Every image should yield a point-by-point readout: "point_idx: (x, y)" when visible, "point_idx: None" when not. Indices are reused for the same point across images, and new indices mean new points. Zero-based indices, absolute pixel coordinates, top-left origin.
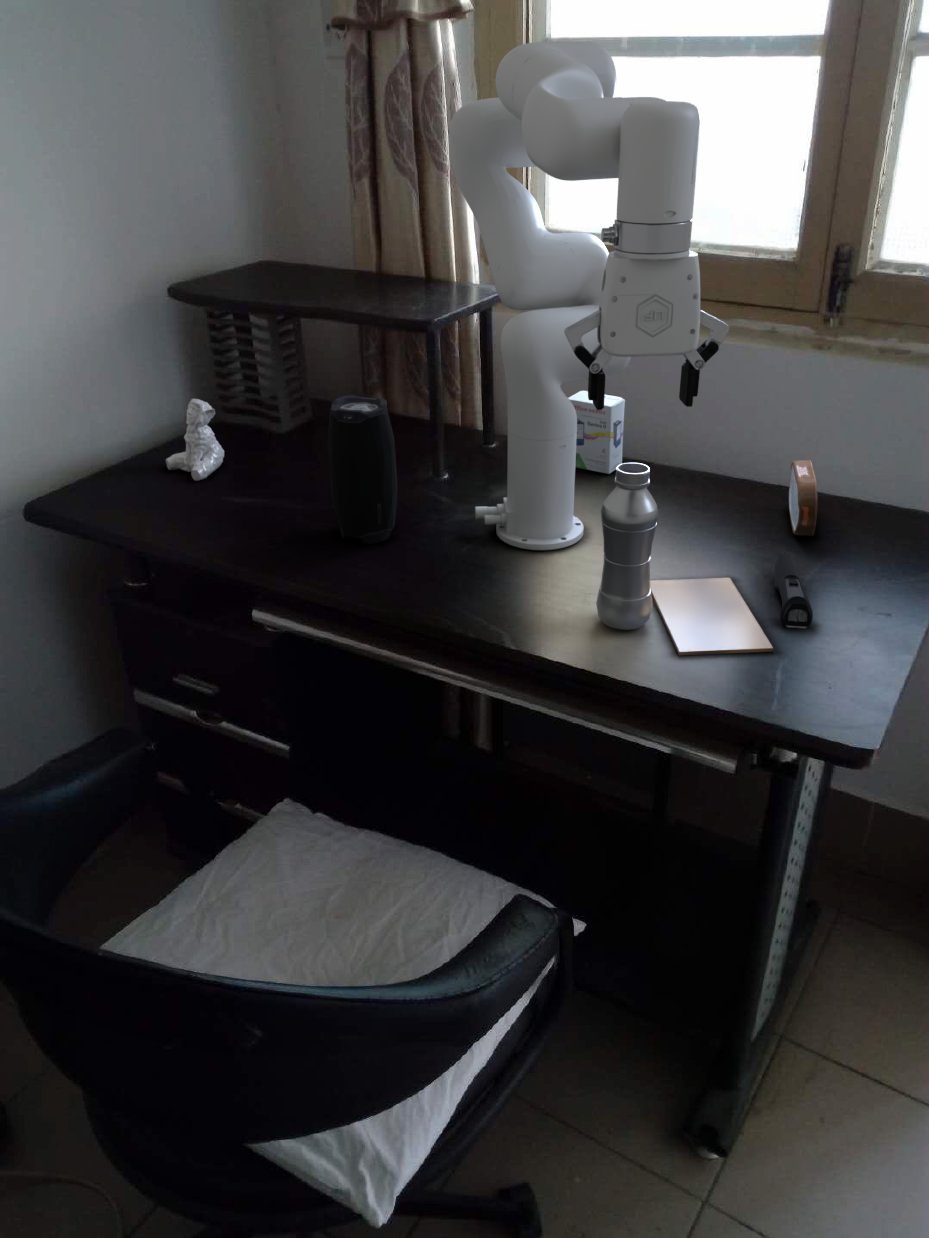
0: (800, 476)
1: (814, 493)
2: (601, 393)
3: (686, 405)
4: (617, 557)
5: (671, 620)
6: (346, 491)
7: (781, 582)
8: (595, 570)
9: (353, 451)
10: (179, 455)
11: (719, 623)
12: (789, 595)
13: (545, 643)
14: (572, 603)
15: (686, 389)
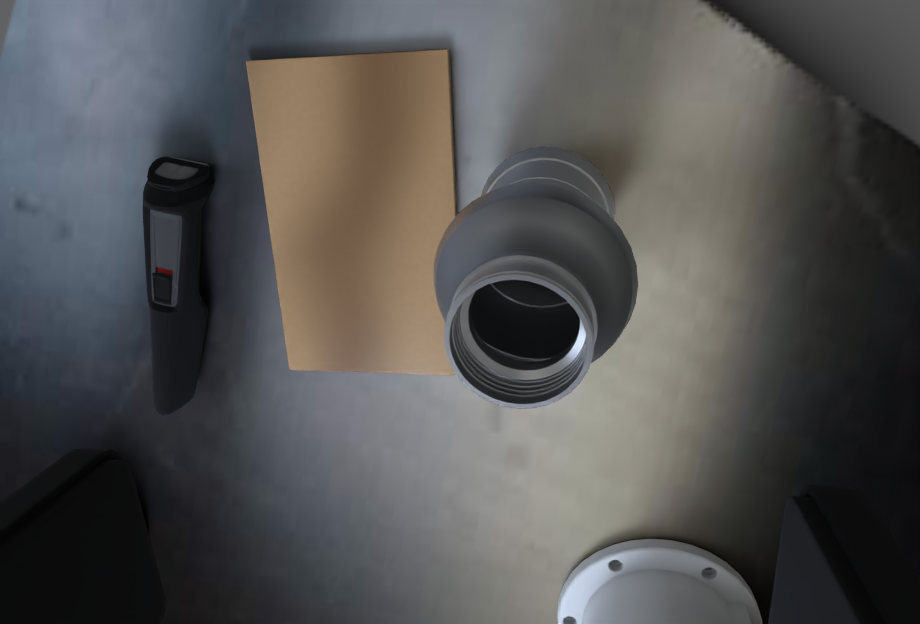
0: None
1: None
2: (894, 588)
3: (120, 466)
4: (581, 192)
5: (440, 195)
6: None
7: (187, 299)
8: (563, 442)
9: None
10: None
11: (340, 175)
12: (177, 233)
13: (753, 120)
14: (646, 304)
15: (35, 551)
